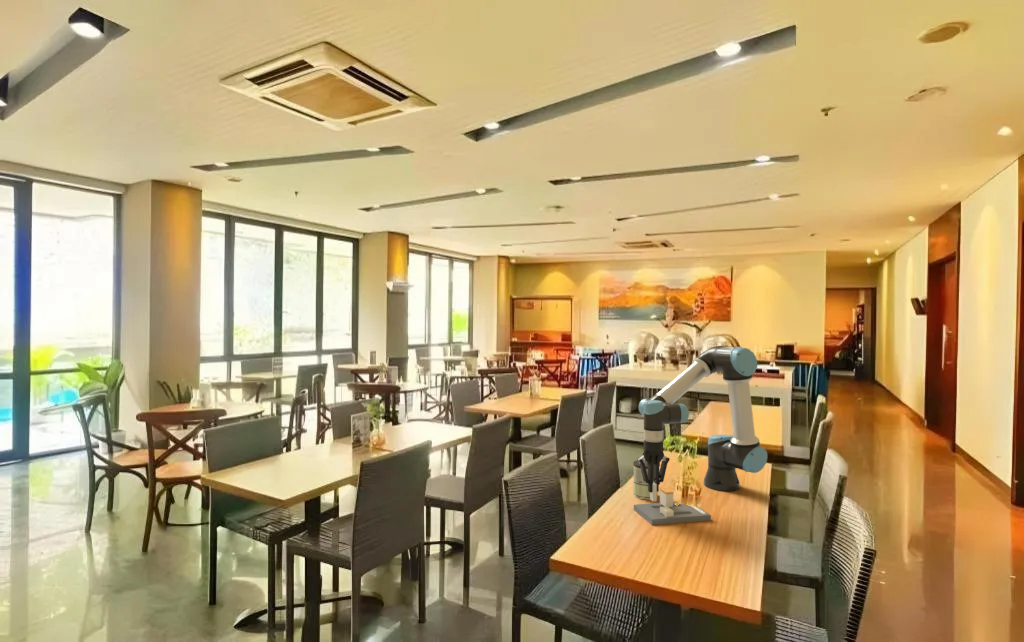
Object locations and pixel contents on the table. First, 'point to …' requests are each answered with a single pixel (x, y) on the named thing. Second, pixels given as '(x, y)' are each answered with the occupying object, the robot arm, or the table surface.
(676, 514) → the panel
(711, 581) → the table surface
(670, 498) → the handle
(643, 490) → the coffee can
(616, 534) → the table surface
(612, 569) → the table surface
